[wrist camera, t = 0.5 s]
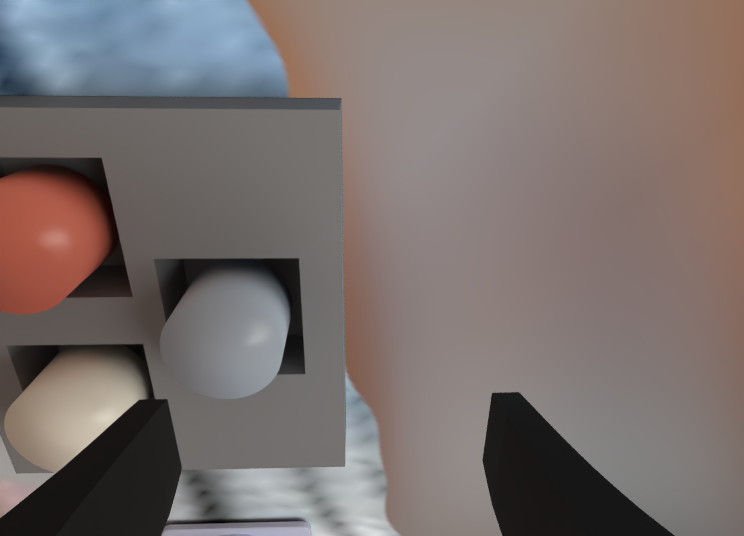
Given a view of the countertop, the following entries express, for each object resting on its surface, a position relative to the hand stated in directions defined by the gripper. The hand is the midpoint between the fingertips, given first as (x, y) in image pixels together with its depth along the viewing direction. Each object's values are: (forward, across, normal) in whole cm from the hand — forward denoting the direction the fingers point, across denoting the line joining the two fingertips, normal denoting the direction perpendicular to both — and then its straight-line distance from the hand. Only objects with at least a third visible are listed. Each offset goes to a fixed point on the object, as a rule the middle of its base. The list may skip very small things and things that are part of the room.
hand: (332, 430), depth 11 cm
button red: (+9, +10, -2) cm, 13 cm away
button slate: (+9, +4, +2) cm, 10 cm away
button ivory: (+9, +10, +5) cm, 14 cm away
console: (+10, +7, +2) cm, 13 cm away
